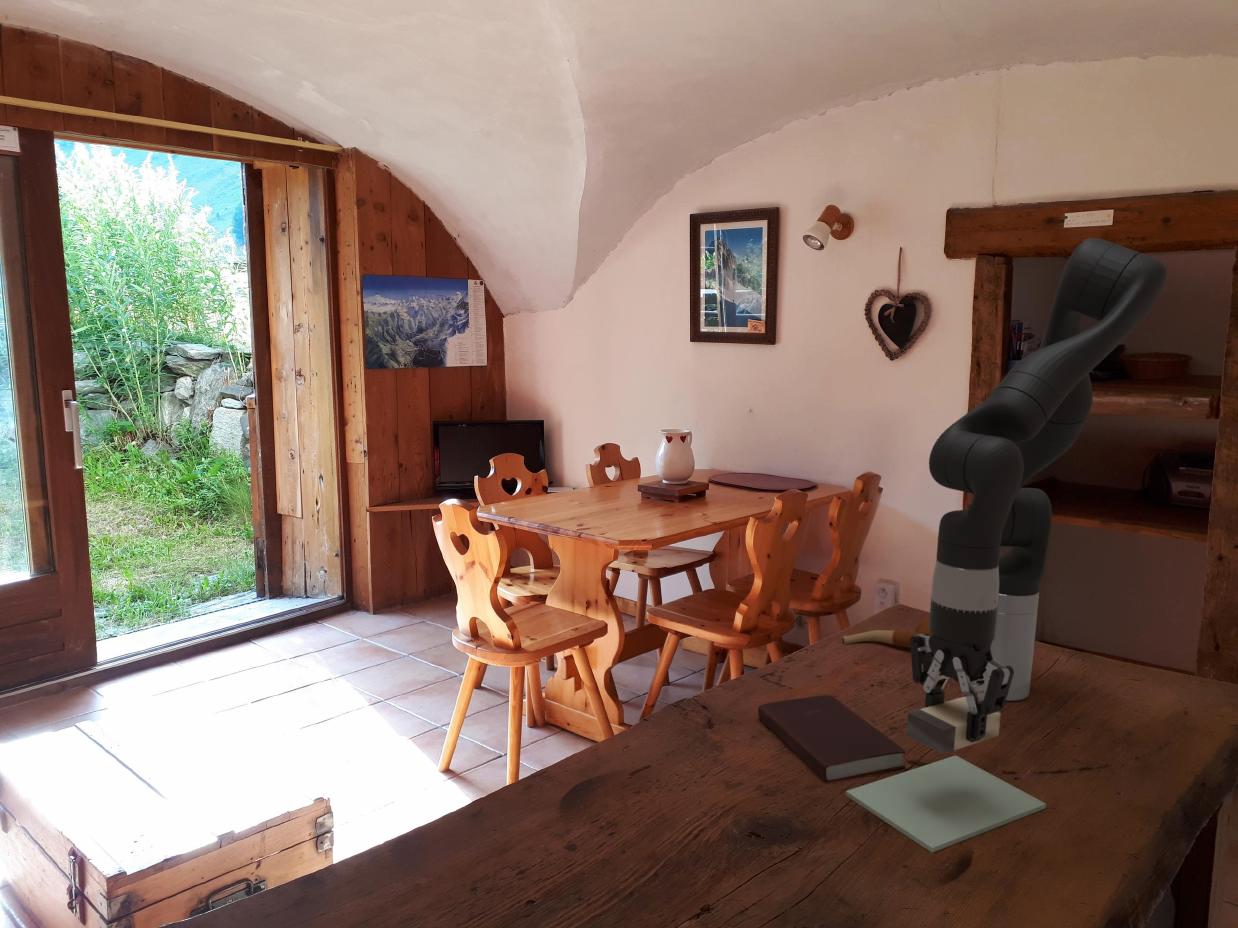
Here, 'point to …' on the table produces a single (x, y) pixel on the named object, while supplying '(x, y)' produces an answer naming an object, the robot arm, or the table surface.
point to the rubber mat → (944, 802)
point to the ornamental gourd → (889, 635)
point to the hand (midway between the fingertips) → (953, 729)
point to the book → (831, 737)
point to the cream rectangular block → (947, 726)
